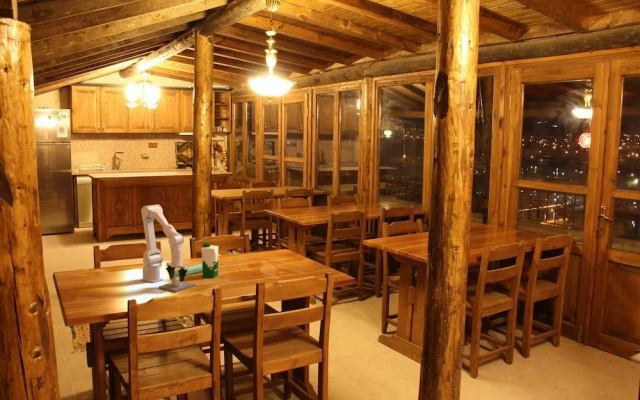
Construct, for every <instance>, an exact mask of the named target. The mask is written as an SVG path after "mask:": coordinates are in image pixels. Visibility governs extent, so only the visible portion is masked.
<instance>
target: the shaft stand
mask: <svg viewBox="0 0 640 400" xmlns="http://www.w3.org/2000/svg"><path fill="white" fill-rule="evenodd" d="M175 279H179V278H175ZM193 287H196V283H194V282H189V281H185V280H184V281H183V282H182V286H178V287H174V286H172V281H171V282H169V283H165V284H163V285H158V290H162V291H163V290H164V291H166V292H167V291H168V292H171V293H178V292H181V291H185V290H187V289H190V288H193Z"/></svg>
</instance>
